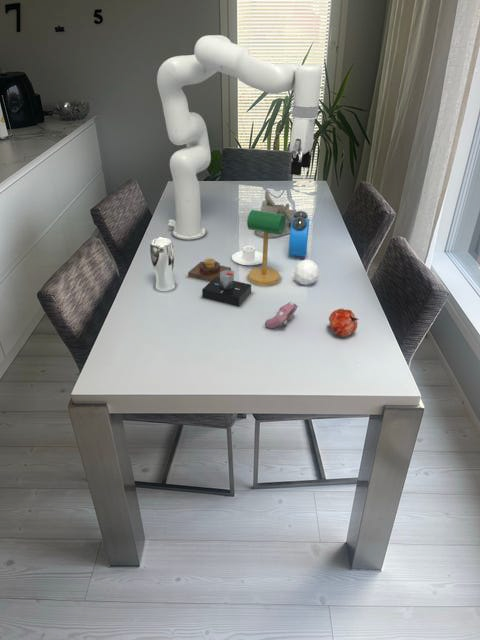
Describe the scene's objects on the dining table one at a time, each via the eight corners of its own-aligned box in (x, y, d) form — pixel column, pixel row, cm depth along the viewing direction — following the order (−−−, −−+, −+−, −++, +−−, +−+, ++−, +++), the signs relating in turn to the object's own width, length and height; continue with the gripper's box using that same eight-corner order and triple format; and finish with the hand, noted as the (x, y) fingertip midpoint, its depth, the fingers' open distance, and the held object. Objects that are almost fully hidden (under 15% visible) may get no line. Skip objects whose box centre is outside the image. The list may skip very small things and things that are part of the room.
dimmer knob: (217, 288, 136) (217, 273, 133) (223, 282, 139) (223, 268, 136) (230, 291, 134) (230, 276, 132) (235, 285, 138) (236, 270, 135)
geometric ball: (309, 292, 146) (317, 282, 138) (287, 281, 146) (293, 270, 139) (318, 274, 149) (326, 262, 141) (296, 263, 149) (303, 251, 141)
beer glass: (158, 294, 139) (153, 248, 130) (150, 284, 144) (146, 239, 136) (179, 289, 141) (176, 243, 133) (171, 279, 147) (168, 235, 138)
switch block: (188, 276, 148) (187, 267, 146) (201, 265, 155) (201, 256, 153) (218, 284, 144) (218, 274, 143) (231, 272, 151) (231, 262, 149)
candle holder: (248, 249, 167) (249, 238, 164) (273, 259, 160) (274, 248, 157) (224, 259, 160) (224, 247, 157) (249, 270, 153) (249, 258, 150)
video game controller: (275, 336, 123) (287, 320, 118) (262, 325, 124) (273, 309, 119) (291, 319, 130) (303, 304, 125) (279, 309, 131) (290, 293, 126)
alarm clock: (305, 263, 157) (309, 221, 149) (287, 261, 158) (290, 220, 150) (306, 247, 168) (310, 208, 160) (290, 246, 169) (292, 207, 161)
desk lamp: (243, 282, 146) (244, 215, 134) (255, 269, 153) (257, 205, 141) (272, 288, 142) (276, 220, 130) (283, 275, 150) (288, 210, 138)
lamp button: (202, 267, 147) (201, 262, 146) (207, 262, 150) (207, 257, 149) (212, 269, 146) (211, 264, 145) (217, 264, 149) (217, 259, 148)
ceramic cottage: (251, 235, 177) (255, 197, 169) (260, 222, 191) (264, 186, 183) (291, 242, 174) (297, 203, 167) (297, 228, 188) (303, 191, 180)
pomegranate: (322, 341, 123) (348, 336, 114) (316, 314, 123) (341, 308, 114) (343, 335, 127) (369, 330, 118) (336, 310, 127) (362, 303, 118)
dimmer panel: (202, 298, 137) (202, 288, 135) (216, 285, 144) (215, 276, 142) (238, 307, 133) (239, 297, 131) (251, 293, 140) (251, 284, 138)
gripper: (301, 107, 144) (297, 163, 154) (283, 115, 131) (280, 176, 140) (324, 109, 142) (319, 165, 151) (309, 118, 128) (304, 179, 138)
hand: (300, 170), depth 146 cm, fingers open, 9 cm apart
